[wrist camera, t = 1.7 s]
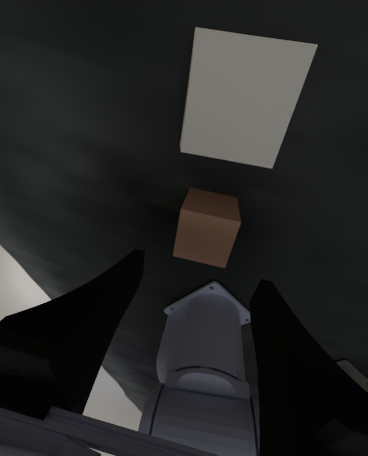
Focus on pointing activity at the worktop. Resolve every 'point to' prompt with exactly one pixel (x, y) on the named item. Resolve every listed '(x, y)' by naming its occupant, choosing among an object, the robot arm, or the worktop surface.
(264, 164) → the tower top
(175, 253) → the terracotta cube
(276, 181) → the worktop surface
